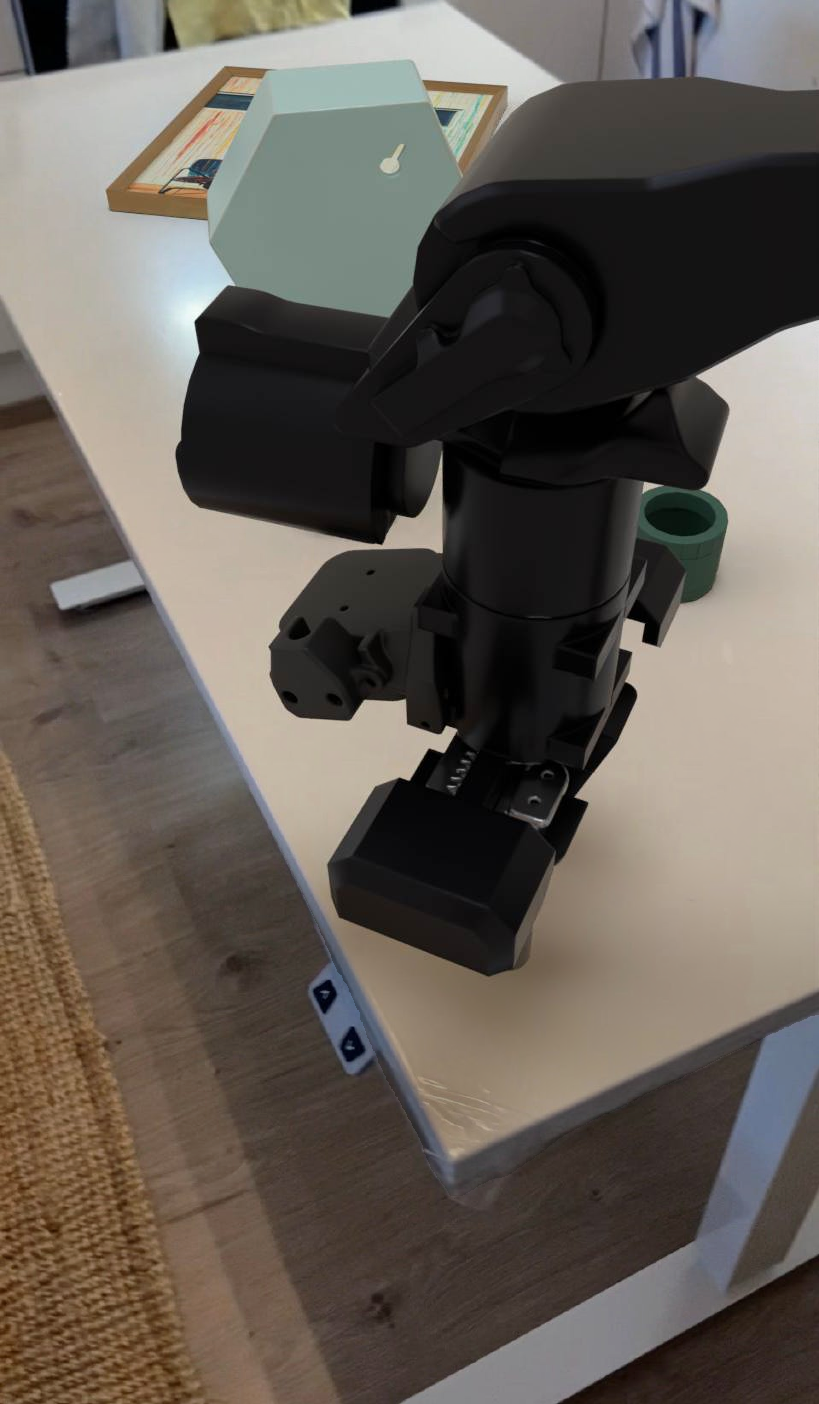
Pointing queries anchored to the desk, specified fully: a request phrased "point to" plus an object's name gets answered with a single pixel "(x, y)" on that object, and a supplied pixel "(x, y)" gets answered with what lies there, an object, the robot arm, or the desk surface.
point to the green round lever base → (686, 532)
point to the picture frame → (205, 128)
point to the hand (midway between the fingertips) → (514, 858)
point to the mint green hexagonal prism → (331, 186)
